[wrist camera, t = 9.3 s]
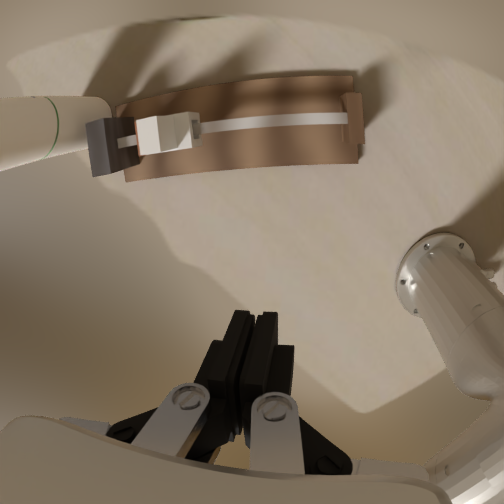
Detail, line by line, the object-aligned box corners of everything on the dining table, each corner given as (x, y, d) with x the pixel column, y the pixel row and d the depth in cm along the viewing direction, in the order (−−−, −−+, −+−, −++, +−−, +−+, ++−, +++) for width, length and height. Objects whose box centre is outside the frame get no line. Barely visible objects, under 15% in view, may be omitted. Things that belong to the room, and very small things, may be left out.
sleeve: (199, 112, 30) (172, 110, 23) (202, 145, 31) (177, 151, 24) (156, 120, 31) (121, 121, 24) (160, 151, 32) (126, 160, 25)
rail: (350, 77, 29) (365, 64, 22) (356, 162, 33) (373, 172, 26) (120, 106, 34) (83, 105, 26) (130, 180, 37) (96, 195, 30)
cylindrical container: (77, 94, 33) (-80, 107, 11) (117, 99, 33) (-53, 107, 11) (68, 143, 36) (-82, 187, 14) (107, 151, 36) (-55, 204, 13)
